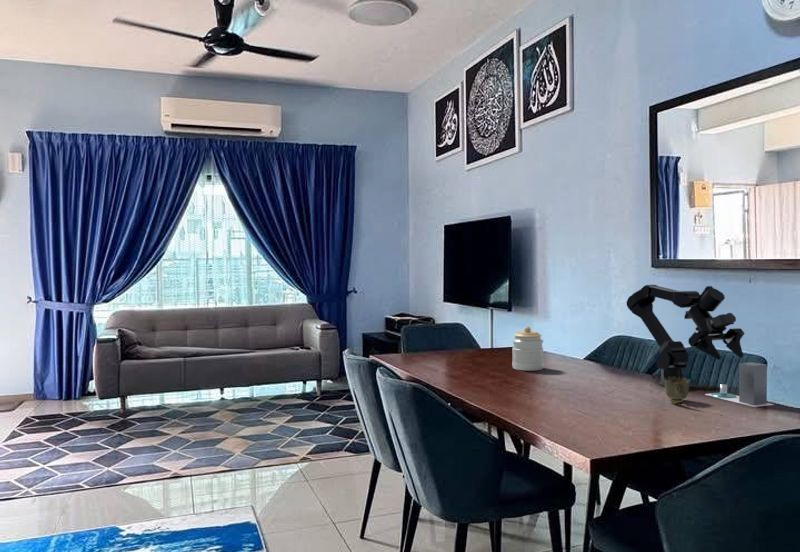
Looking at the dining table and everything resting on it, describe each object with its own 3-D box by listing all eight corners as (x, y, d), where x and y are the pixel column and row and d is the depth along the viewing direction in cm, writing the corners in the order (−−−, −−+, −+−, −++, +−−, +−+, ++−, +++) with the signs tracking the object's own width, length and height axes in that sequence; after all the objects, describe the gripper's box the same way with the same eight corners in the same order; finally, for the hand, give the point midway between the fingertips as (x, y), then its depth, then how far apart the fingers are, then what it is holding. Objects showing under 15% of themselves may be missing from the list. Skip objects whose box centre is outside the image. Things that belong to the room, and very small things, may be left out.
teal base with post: (706, 397, 202) (706, 383, 202) (723, 395, 204) (723, 382, 204) (724, 402, 195) (724, 387, 195) (741, 400, 197) (741, 386, 197)
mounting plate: (704, 397, 202) (704, 394, 202) (723, 395, 205) (723, 392, 205) (754, 410, 184) (754, 406, 184) (774, 407, 187) (774, 404, 187)
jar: (546, 371, 253) (546, 328, 253) (515, 371, 253) (514, 328, 253) (539, 365, 266) (539, 325, 266) (509, 366, 266) (509, 325, 266)
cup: (678, 407, 188) (678, 381, 188) (658, 402, 195) (658, 377, 195) (695, 404, 192) (695, 379, 192) (674, 400, 198) (674, 375, 198)
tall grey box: (739, 401, 191) (739, 363, 191) (752, 400, 192) (752, 362, 192) (753, 405, 186) (753, 365, 186) (766, 404, 188) (766, 364, 187)
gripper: (695, 305, 198) (723, 344, 188) (739, 303, 204) (769, 341, 194) (676, 327, 206) (702, 365, 196) (720, 325, 212) (747, 362, 202)
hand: (731, 358), depth 197 cm, fingers open, 9 cm apart
